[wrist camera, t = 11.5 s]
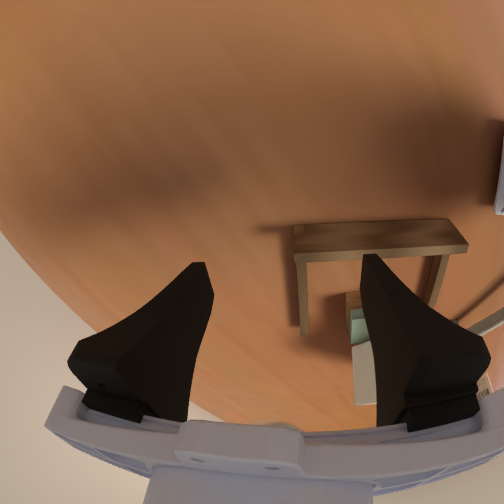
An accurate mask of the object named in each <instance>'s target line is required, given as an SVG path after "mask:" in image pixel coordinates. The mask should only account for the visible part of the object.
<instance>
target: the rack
mask: <svg viewBox="0 0 504 504" xmlns="http://www.w3.org/2000/svg"><path fill="white" fill-rule="evenodd" d="M468 246H469V244H468V242H467V241H466V240H465V239H464V237H463V236H462V235H461V233H460V232H459V231H458V230H457V228H456V227H455V226H454V225H453V223H452V222H451V221H450V220H449V219H428V220H396V221H370V222H347V223H327V224H308V225H294V248H293V255H294V263H296V269H297V283H298V298H299V315H300V334H301V337H308V294H307V271H306V262H326V261H345V260H363V254H375V253H376V254H377V255H378V256H379V257H380V258H398V257H414V256H430V255H434V258H433V263H432V267H431V271H430V275H429V279H428V282H427V286H426V290H425V293H424V297H423V300H422V301H423V302H425V303H426V304H427V305H428V306H430V307H431V308H432V309H434V306H435V303H436V300H437V297H438V294H439V291H440V287H441V284H442V281H443V277H444V274H445V270H446V267H447V263H448V259H449V256H450V254H460V253H467V249H468Z"/></svg>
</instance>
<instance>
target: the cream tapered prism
mask: <svg viewBox="0 0 504 504" xmlns="http://www.w3.org/2000/svg"><path fill="white" fill-rule="evenodd" d="M352 360H353V379H354V406H358V405H368V404H376V403H377V401H376V380H375V367H374V357H373V351H372V346H371V342H370V341H368V342H365V343H362V344H359V345H357V346H354V347H352Z"/></svg>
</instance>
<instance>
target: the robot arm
mask: <svg viewBox="0 0 504 504" xmlns="http://www.w3.org/2000/svg"><path fill="white" fill-rule="evenodd" d="M501 209H502V210H501ZM493 211H494V213H495V214H496V215H504V137H503V149H502V159H501V167H500V174H499V181H498V187H497V193H496V198H495V203H494V208H493ZM360 295H361V303H362V309H363V313H364V317H365V321H366V325H367V329H368V334H369V338H370V342H371V346H372V351H373V357H374V367H375V380H376V401H377V426H376V427H373V428H364V429H354V430H341V431H323V432H298V431H296V430H293V429H290V428H287V427H278V426H267V425H248V424H235V423H224V422H214V421H206V420H188V421H187V416H188V406H189V398H190V390H191V384H192V378H193V372H194V367H195V362H196V358H197V354H198V351H199V348H200V345H201V342H202V339H203V336H204V333H205V330H206V327H207V324H208V321H209V318H210V315H211V310H212V305H213V300H214V292H213V289H212V285H211V282H210V279H209V275H208V272H207V269H206V265H205V262H192V263H191V264H190V265H189V266H188V267H187V268H186V269H184V270H183V271H182V272H181V273H180V274H179V275H178V276H177V277H176V278H175V279H174V280H173V281H172V282H171V283H170V284H169V285H168V286H166V287H165V288H164V289H163V290H162V291H161V292H160V293H159V294H157V295H156V296H155V297H154V298H153V299H152V300H150V301H149V302H148V303H147V304H145V305H144V306H143V307H141V308H140V309H139V310H137V311H136V312H134V313H133V314H131V315H130V316H128V317H127V318H125V319H123V320H122V321H120V322H118V323H117V324H115V325H113V326H111V327H109V328H107V329H105V330H103V331H101V332H99V333H97V334H94V335H92V336H90V337H87V338H85V339H82V340H80V341H78V343H77V345H76V346H75V348H74V350H73V352H72V353H71V355H70V357H69V359H68V361H67V362H68V366H69V368H70V370H71V371H72V373H73V374H74V375H75V376H76V377H77V378H78V379H79V380H80V381H81V382H82V383H83V385H84V386H85V387H86V388H87V391H86V393H85V394H84V393H83V392H81V391H79V390H77V389H73V388H71V387H68V386H63V388H62V390H61V392H60V394H59V396H58V397H57V399H56V402H55V404H54V406H53V408H52V410H51V412H50V414H49V416H48V418H47V420H46V422H45V427H46V428H47V429H49V430H50V431H51V432H53V433H54V434H55V435H57V436H58V437H60V438H61V439H63V440H64V441H65V442H67V443H68V444H70V445H71V446H73V447H74V448H76V449H78V450H80V451H82V452H85V453H87V454H89V455H91V456H93V457H96V458H98V459H100V460H103V461H105V462H107V463H110V464H112V465H114V466H117V467H119V468H122V469H125V470H127V471H130V472H133V473H135V474H138V475H141V476H144V477H147V478H150V481H149V485H148V488H147V491H146V495H145V498H144V502H143V504H373V496H378V495H383V494H388V493H393V492H398V491H402V490H406V489H410V488H414V487H418V486H421V485H425V484H428V483H432V482H435V481H438V480H441V479H444V478H447V477H450V476H453V475H456V474H459V473H461V472H464V471H467V470H469V469H472V468H475V467H478V466H480V465H483V464H485V463H487V462H489V461H490V460H492V459H494V458H495V457H497V456H498V455H500V454H501V453H503V452H504V390H501V391H498V392H495V393H492V394H489V395H486V396H483V397H482V398H480V399H479V400H478V399H477V396H476V393H477V392H478V390H479V389H478V385H477V382H478V380H479V379H480V378H481V376H482V375H483V374H484V372H485V371H486V369H487V368H488V366H489V364H490V360H491V357H490V354H489V351H488V348H487V346H486V344H485V342H484V340H483V338H482V337H481V336H479V335H477V334H475V333H473V332H471V331H469V330H466V329H464V328H462V327H461V326H459V325H457V324H455V323H453V322H452V321H450V320H449V319H447V318H445V317H444V316H442V315H441V314H439V313H438V312H436V311H435V310H434V309H432V308H431V307H430V306H428V305H427V304H426V303H425V302H423V301H422V300H421V299H420V298H419V297H417V296H416V295H415V294H414V293H413V292H412V291H411V290H410V289H409V288H408V287H407V286H406V285H405V284H404V283H403V282H402V281H401V280H400V279H399V278H398V277H397V276H396V275H395V274H394V273H393V272H392V271H391V269H390V268H389V267H388V266H387V265H386V264H385V263H384V262H383V260H382V259H381V258H380V257H379V256H378V255H377V254H376V253H375V254H363V261H362V272H361V282H360Z"/></svg>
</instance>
